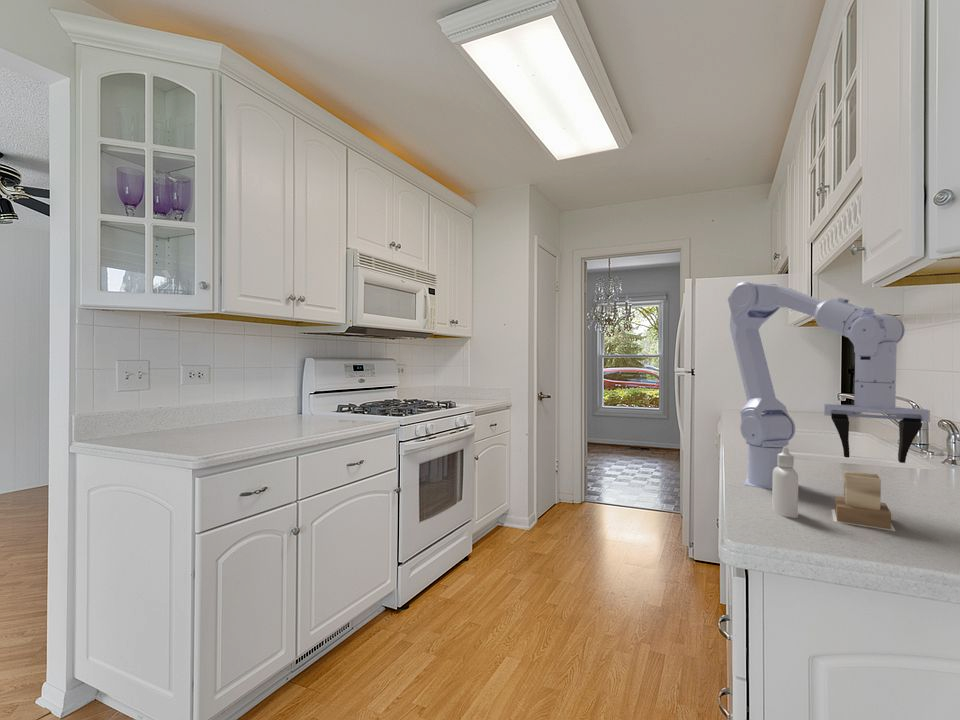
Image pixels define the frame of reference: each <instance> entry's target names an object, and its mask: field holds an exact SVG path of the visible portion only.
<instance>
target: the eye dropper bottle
mask: <svg viewBox="0 0 960 720" xmlns="http://www.w3.org/2000/svg"><path fill="white" fill-rule="evenodd" d="M794 459H795V457H794V455H793V454H792V453H790V450H789V447H788V446H786V447H783V451H782V453H779V454H778V459H777V465H778V467H776V468H774V470H773V485H772V489H771V490H772V491H771V492H772V493H771V494H772V496H771V497H772V501H771V502H772V503H771V510H772V512H774V513H775V514H777V515H778V516H781V517H784V518H794V519H795V518H797V519H798V517H799V515H798V514H799V475H798V473H797V471H796V469H794V463H795V460H794Z"/></svg>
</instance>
